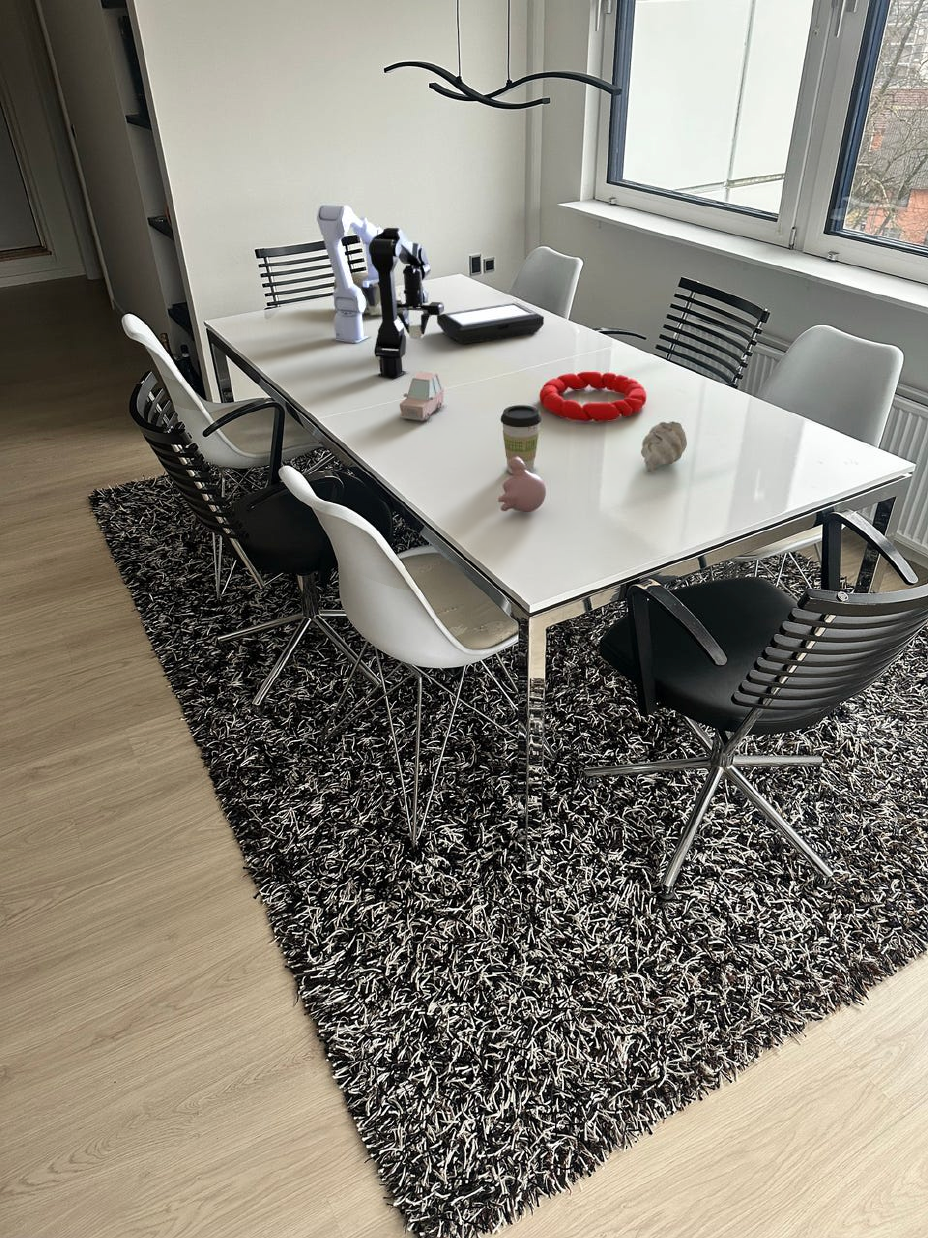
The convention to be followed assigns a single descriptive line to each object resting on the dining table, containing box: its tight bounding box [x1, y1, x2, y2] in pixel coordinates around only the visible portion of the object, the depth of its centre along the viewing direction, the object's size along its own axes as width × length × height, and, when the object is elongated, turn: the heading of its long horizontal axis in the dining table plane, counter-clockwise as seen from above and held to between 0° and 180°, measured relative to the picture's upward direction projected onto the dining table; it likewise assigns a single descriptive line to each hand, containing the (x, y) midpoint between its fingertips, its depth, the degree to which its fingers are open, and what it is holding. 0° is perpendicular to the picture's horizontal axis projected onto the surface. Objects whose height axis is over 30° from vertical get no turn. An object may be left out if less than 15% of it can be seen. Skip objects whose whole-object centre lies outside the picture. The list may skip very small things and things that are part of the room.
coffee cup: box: [499, 404, 543, 474], centre depth 216 cm, size 10×10×15 cm
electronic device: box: [436, 302, 545, 345], centre depth 312 cm, size 32×6×20 cm
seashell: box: [640, 421, 688, 473], centre depth 218 cm, size 10×15×10 cm
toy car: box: [399, 371, 445, 422], centre depth 250 cm, size 9×15×10 cm, turn 158°
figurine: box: [497, 457, 547, 513], centre depth 199 cm, size 9×11×12 cm
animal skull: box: [333, 271, 402, 316], centre depth 336 cm, size 17×25×20 cm
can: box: [408, 321, 424, 340], centre depth 297 cm, size 5×5×4 cm
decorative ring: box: [539, 371, 647, 422], centre depth 253 cm, size 7×30×30 cm
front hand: (416, 333), depth 298 cm, fingers closed on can, 5 cm apart
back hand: (378, 303), depth 322 cm, fingers open, 7 cm apart
